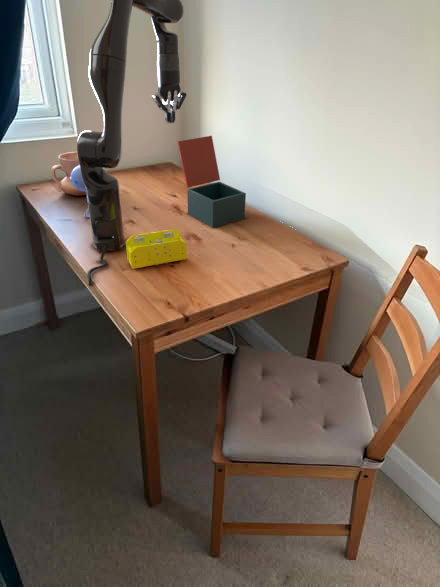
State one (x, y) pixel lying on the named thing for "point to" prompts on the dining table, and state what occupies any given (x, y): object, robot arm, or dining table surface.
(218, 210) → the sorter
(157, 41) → the robot arm
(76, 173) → the baby rattle
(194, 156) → the sorter lid
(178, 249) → the yellow toy chassis
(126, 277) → the dining table surface
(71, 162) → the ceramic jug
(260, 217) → the dining table surface
